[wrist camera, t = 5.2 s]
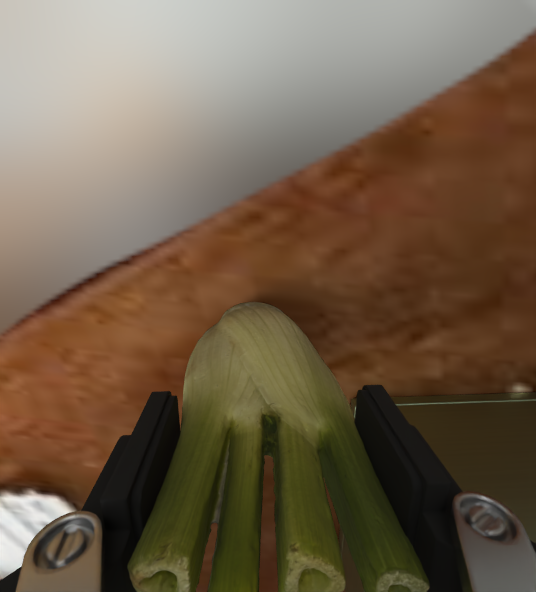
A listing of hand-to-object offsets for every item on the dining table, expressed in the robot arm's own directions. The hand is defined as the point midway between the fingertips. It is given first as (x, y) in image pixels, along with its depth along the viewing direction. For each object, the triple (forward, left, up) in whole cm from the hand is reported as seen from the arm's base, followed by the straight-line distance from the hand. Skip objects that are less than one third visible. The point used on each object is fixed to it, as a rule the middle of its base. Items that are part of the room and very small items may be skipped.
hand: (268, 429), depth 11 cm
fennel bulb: (0, 0, -7) cm, 7 cm away
